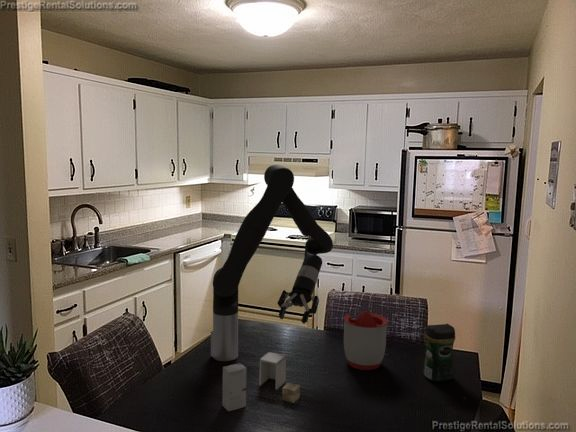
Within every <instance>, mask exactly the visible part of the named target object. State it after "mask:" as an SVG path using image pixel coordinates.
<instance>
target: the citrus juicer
mask: <svg viewBox="0 0 576 432" xmlns="http://www.w3.org/2000/svg"><path fill="white" fill-rule="evenodd" d="M343 320H344V323H343V324H344V326H343V347H344V348H343V349H344V354H345V359H346V362H347V363H348V365H349V366H350V367H352V368H354V369H357V370H360V371H372V370H376V369H378V368H379V367H380V366H381V364H382V362H383V360H384V357H385V353H386V352H385V351H386V346H387V331H388V330H387V329H388V328H387V327H388V323H389V321H388V318H386V317H385V316H383V315H381V314H378V313H374V312H369V311H367V310H365V311H363V312H362V311H360V315H359V316H358V317H357V318H356V319H352V316H351V315H350V314H349V313H348V314H346V315H344V316H343Z"/></svg>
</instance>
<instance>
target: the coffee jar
mask: <svg viewBox="0 0 576 432" xmlns="http://www.w3.org/2000/svg"><path fill="white" fill-rule="evenodd" d="M424 335H425V336H424V337H425V339H426V350H425V357H424V363H423V376H424V377H425V378H427V379H428V380H430V381H432V382H444V381H445V382H447V381H452V379H454V358H453V357H454V343H455V341H456V329H455V327H454V326H452V325H451V324H449V323H443V324H429V325H427V326H426V327H425V333H424Z"/></svg>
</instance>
